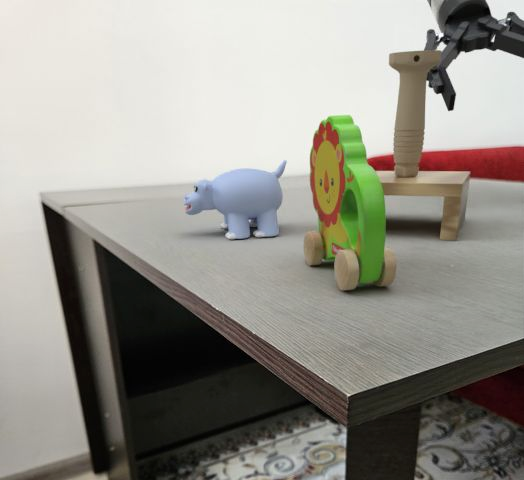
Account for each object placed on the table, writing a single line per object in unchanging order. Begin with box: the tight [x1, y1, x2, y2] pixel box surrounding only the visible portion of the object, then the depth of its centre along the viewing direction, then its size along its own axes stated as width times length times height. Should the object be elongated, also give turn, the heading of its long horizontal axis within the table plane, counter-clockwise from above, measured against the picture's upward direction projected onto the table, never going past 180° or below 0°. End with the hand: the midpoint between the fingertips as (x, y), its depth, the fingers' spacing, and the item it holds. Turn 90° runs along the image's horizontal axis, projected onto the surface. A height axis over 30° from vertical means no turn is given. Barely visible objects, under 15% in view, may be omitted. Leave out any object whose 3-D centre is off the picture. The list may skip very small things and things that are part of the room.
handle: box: [388, 49, 443, 177], centre depth 69 cm, size 5×6×15 cm
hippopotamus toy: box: [183, 159, 288, 240], centre depth 74 cm, size 11×15×10 cm
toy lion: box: [303, 114, 397, 291], centre depth 52 cm, size 16×5×15 cm, turn 13°
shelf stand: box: [375, 170, 471, 241], centre depth 74 cm, size 16×14×7 cm
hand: (499, 93), depth 76 cm, fingers open, 13 cm apart
